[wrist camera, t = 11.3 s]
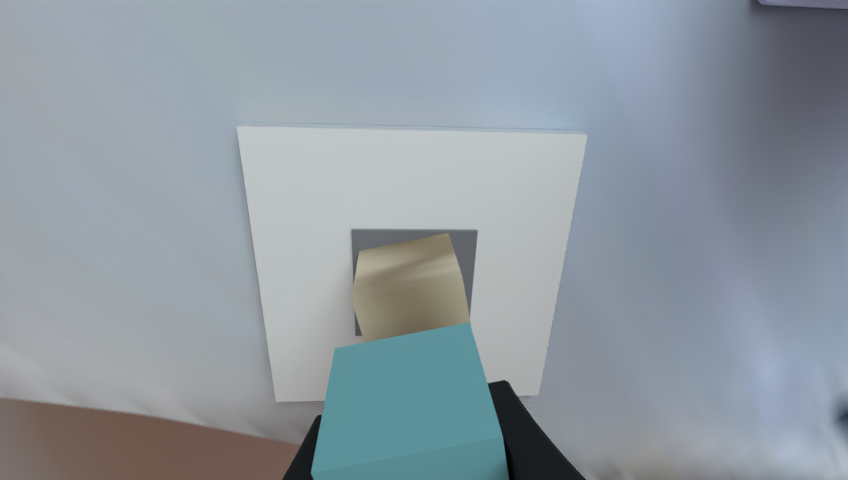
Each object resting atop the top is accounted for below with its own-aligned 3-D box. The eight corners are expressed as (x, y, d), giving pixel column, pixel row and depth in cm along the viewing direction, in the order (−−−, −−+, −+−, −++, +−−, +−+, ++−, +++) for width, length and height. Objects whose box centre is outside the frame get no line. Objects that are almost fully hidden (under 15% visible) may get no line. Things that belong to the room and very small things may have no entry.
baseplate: (578, 130, 18) (589, 135, 17) (532, 382, 24) (539, 397, 23) (244, 122, 17) (234, 127, 16) (280, 387, 23) (274, 404, 22)
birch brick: (448, 232, 18) (462, 277, 15) (462, 308, 20) (477, 364, 16) (359, 250, 18) (351, 299, 15) (380, 324, 20) (377, 384, 16)
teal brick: (469, 322, 12) (502, 436, 9) (486, 421, 14) (519, 551, 10) (335, 348, 12) (310, 472, 9) (367, 443, 14) (358, 582, 10)
